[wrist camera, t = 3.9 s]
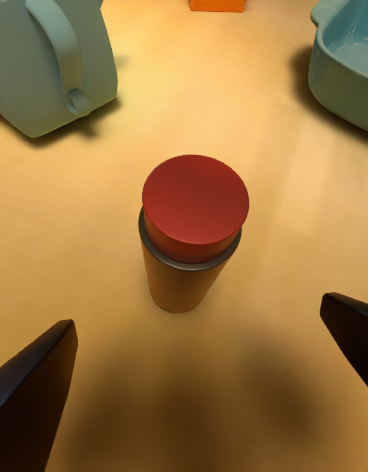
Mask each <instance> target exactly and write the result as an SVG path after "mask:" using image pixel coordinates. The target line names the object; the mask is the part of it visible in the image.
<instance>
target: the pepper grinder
mask: <svg viewBox="0 0 368 472" xmlns="http://www.w3.org/2000/svg"><path fill="white" fill-rule="evenodd" d="M142 202H143V206H142V208H141V211H140V214H139V222H138V226H139V234H140V239H141V245H142V250H143V256H144V261H145V267H146V272H147V277H148V283H149V288H150V293H151V296H152V298H153V300H154V302H155V303H156V304H157V305H158V306H159V307H160V308H162V309H163V310H165V311H168V312H171V313H184V312H187V311H190V310H192V309H193V308H194V307H196V306H197V305H198V304H199V302H200V301H201V299H202V298H203V297H204V295H205V294H206V292H207V291H208V289H209V288H210V286H211V285H212V284H213V282H214V281H215V279H216V278H217V276H218V275H219V273H220V272H221V271H222V269H223V268H224V266H225V265H226V263H227V262H228V260H229V259H230V257H231V256H232V255H233V253H234V252H235V250H236V248H237V247H238V244H239V242H240V238H241V233H242V225H243V223H244V222H245V220H246V217H247V214H248V211H249V197H248V192H247V189H246V187H245V185H244V183H243V181H242V180H241V178H240V177H239V176H238V174H237V173H236V172H235V171H234V170H232V169H231V168H230V167H229V166H227V165H226V164H224V163H222V162H221V161H218V160H216V159H214V158H211V157H207V156H202V155H182V156H177V157H174V158H171V159H168V160H166V161H164V162H163V163H161V164H160V165H158V166H157V167H156V168H155V169H154V170H153V171H152V172H151V173H150V175H149V176H148V178H147V180H146V182H145V184H144V187H143V192H142Z"/></svg>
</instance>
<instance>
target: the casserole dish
mask: <svg viewBox="0 0 368 472" xmlns="http://www.w3.org/2000/svg"><path fill="white" fill-rule="evenodd" d="M310 18H311V20H312V22H313V24H314V25H315V26H316V27H317V31H316V35H315V40H314V45H313V50H312V55H311V61H310V67H309V78H308V81H309V87H310V89H311V92H312V94H313V95H314V97H315V98H316V99H317V100H318V102H319V103H320V104H321V105H322V106H323V107H324V108H326V109H327V110H329V111H330V112H331V113H333V114H335V115H337V116H338V117H340V118H342V119H344V120H346V121H348V122H349V123H351V124H353V125H355V126H357V127H359V128H361V129H363V130H365V131H367V132H368V0H320V1H319V2H318V3H317V4H316V5H315V6H314V7H313V9H312V11H311V17H310Z"/></svg>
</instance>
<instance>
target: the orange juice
mask: <svg viewBox="0 0 368 472" xmlns="http://www.w3.org/2000/svg"><path fill="white" fill-rule="evenodd" d="M245 1H246V0H188V2H189V6H190V10H196V11H221V12H243V9H244V5H245Z"/></svg>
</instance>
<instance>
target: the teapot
mask: <svg viewBox="0 0 368 472" xmlns="http://www.w3.org/2000/svg"><path fill="white" fill-rule="evenodd" d="M102 2H103V0H0V114H1V115H2V116H3V117H4V118H5V119H7V120H8V121H9V122H10V123H11V124H12V125H13V126H15V127H16V128H17V129H18V130H20V131H21V132H22V133H23V134H25V135H27V136H28V137H31V138H36V137H39V136H42V135H44V134H46V133H49V132H51V131H53V130H55V129H57V128H59V127H61V126H63V125H65V124H67V123H69V122H71V121H73V120H76V119H78V118H80V117H84V116H87V115H88V114H89V113H90V112H91V111H93V110H95V109H97V108H99V107H100V106H102V105H104V104H106V103H108V102H109V101H111V100H113V99H114V98H115V97H116V95H117V84H118V79H117V72H116V66H115V61H114V57H113V52H112V48H111V44H110V41H109V37H108V33H107V30H106V26H105V23H104V20H103V17H102V14H101V10H100V8H101V5H102Z"/></svg>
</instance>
